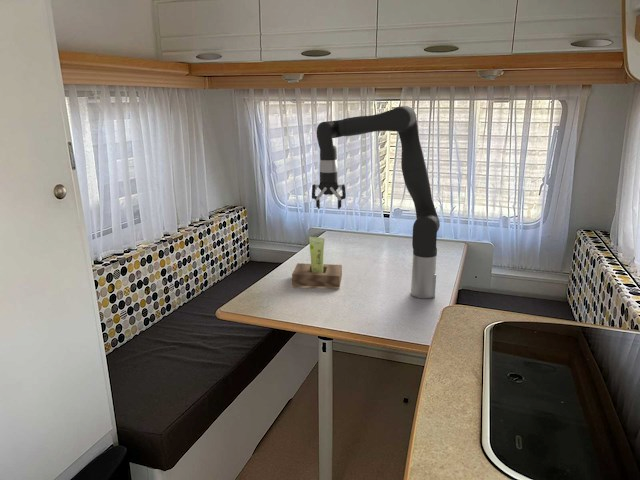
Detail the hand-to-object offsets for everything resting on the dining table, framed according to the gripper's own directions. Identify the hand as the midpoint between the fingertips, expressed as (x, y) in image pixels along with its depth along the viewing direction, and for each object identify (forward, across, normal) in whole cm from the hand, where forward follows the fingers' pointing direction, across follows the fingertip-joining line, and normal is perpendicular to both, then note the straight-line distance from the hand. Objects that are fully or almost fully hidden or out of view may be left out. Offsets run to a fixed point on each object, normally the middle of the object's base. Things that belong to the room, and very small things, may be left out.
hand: (328, 208), depth 204 cm
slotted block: (+32, -5, -5) cm, 33 cm away
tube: (+31, -5, -5) cm, 32 cm away
